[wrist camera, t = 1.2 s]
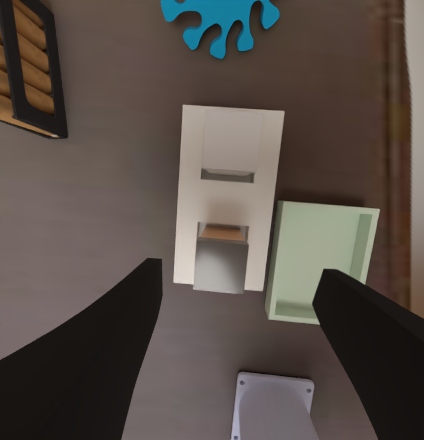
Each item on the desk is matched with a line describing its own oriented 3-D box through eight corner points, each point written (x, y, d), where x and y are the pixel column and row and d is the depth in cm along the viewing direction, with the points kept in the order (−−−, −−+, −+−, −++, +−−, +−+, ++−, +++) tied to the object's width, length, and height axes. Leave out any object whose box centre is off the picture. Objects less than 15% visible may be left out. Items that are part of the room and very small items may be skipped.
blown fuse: (237, 261, 20) (243, 294, 14) (202, 258, 20) (193, 289, 14) (240, 227, 20) (249, 244, 13) (204, 224, 20) (196, 240, 13)
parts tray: (343, 315, 21) (356, 328, 19) (264, 307, 21) (268, 319, 19) (363, 207, 19) (379, 209, 17) (277, 200, 20) (283, 201, 18)
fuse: (245, 178, 19) (256, 171, 13) (208, 175, 19) (201, 167, 13) (249, 139, 18) (263, 112, 12) (211, 136, 19) (205, 109, 12)
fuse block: (257, 278, 21) (262, 291, 18) (179, 271, 21) (173, 282, 19) (275, 122, 19) (284, 111, 16) (188, 116, 19) (183, 104, 16)
